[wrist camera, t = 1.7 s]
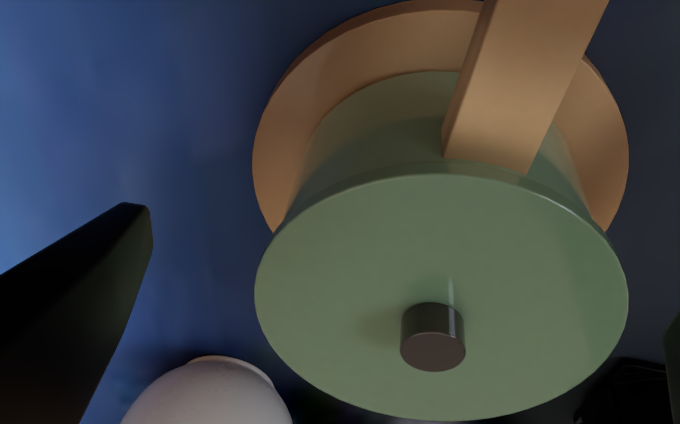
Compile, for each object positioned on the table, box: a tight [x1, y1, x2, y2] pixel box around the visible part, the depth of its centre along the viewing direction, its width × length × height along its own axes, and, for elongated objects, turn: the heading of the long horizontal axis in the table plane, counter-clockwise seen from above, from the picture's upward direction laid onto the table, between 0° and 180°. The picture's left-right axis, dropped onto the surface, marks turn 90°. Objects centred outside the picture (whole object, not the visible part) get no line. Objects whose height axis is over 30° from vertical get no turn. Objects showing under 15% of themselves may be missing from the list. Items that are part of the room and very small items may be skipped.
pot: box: [254, 0, 629, 421], centre depth 18 cm, size 20×12×8 cm, turn 171°
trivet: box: [252, 0, 629, 233], centre depth 24 cm, size 15×15×1 cm
